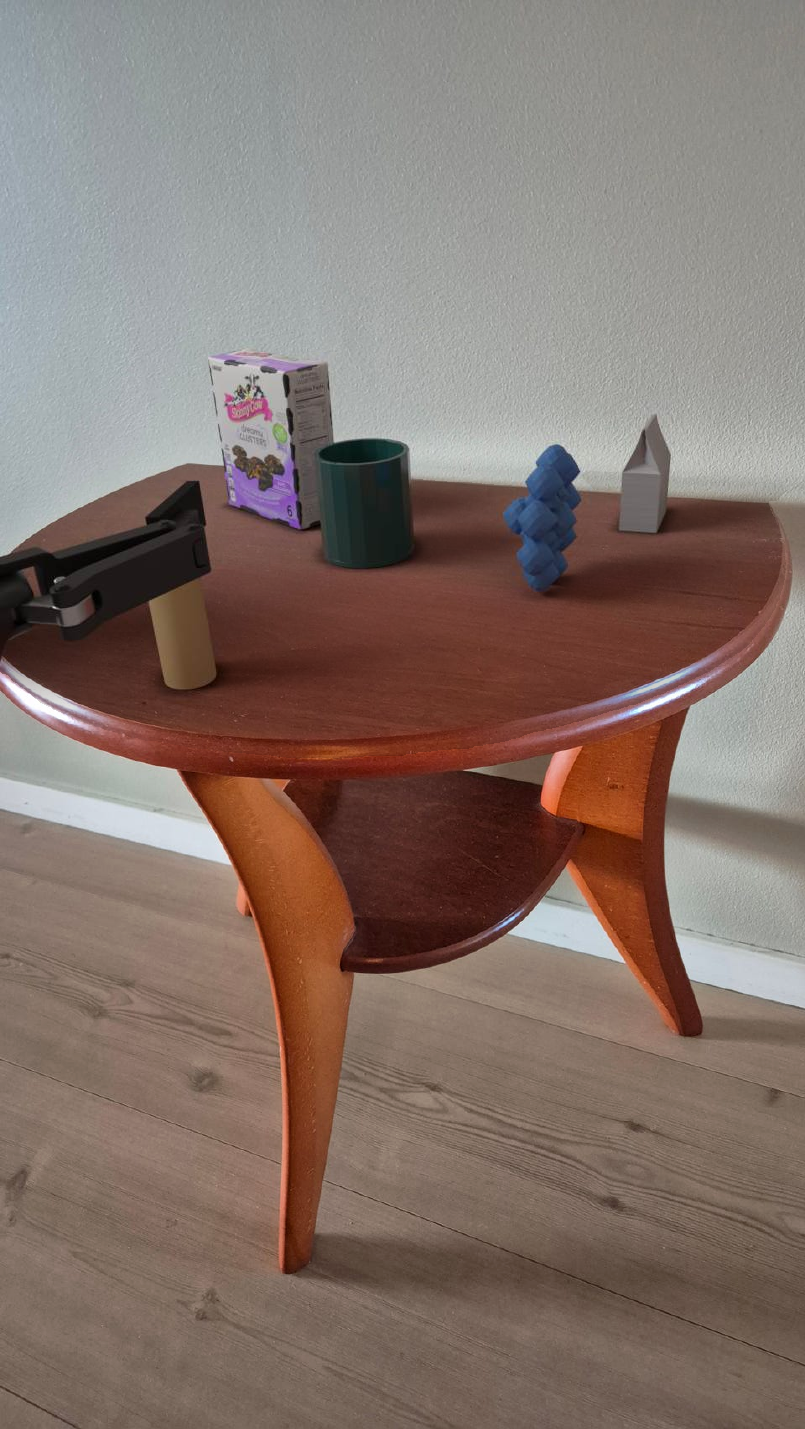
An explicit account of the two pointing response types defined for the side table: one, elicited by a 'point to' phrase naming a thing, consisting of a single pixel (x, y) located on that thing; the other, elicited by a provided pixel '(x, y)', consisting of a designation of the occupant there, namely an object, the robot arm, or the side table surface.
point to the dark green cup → (365, 502)
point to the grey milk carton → (645, 482)
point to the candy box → (272, 431)
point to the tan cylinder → (183, 637)
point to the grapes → (546, 517)
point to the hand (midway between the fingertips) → (90, 503)
